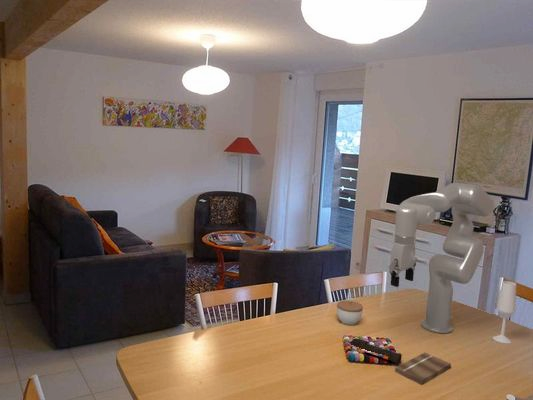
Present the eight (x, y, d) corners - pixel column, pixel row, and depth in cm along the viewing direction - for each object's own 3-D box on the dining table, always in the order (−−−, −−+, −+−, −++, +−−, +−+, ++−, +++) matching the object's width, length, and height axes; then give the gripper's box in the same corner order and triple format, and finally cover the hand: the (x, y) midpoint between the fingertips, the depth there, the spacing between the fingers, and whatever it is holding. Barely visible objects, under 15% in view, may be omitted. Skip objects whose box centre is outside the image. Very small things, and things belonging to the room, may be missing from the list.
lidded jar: (366, 323, 194) (368, 302, 192) (350, 329, 187) (352, 307, 185) (346, 315, 202) (348, 295, 200) (330, 320, 195) (332, 299, 194)
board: (424, 356, 167) (425, 352, 167) (450, 367, 160) (451, 363, 159) (394, 371, 155) (395, 367, 154) (421, 384, 147) (422, 380, 147)
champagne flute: (496, 334, 190) (503, 279, 187) (513, 340, 185) (521, 283, 182) (490, 338, 185) (497, 282, 182) (507, 344, 181) (515, 286, 177)
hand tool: (402, 362, 162) (403, 350, 161) (397, 367, 158) (399, 354, 158) (353, 346, 173) (354, 334, 172) (348, 349, 170) (349, 338, 169)
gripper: (408, 233, 178) (405, 275, 181) (382, 241, 167) (380, 285, 170) (426, 237, 173) (423, 280, 176) (400, 245, 162) (397, 291, 165)
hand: (402, 283), depth 173 cm, fingers open, 9 cm apart
